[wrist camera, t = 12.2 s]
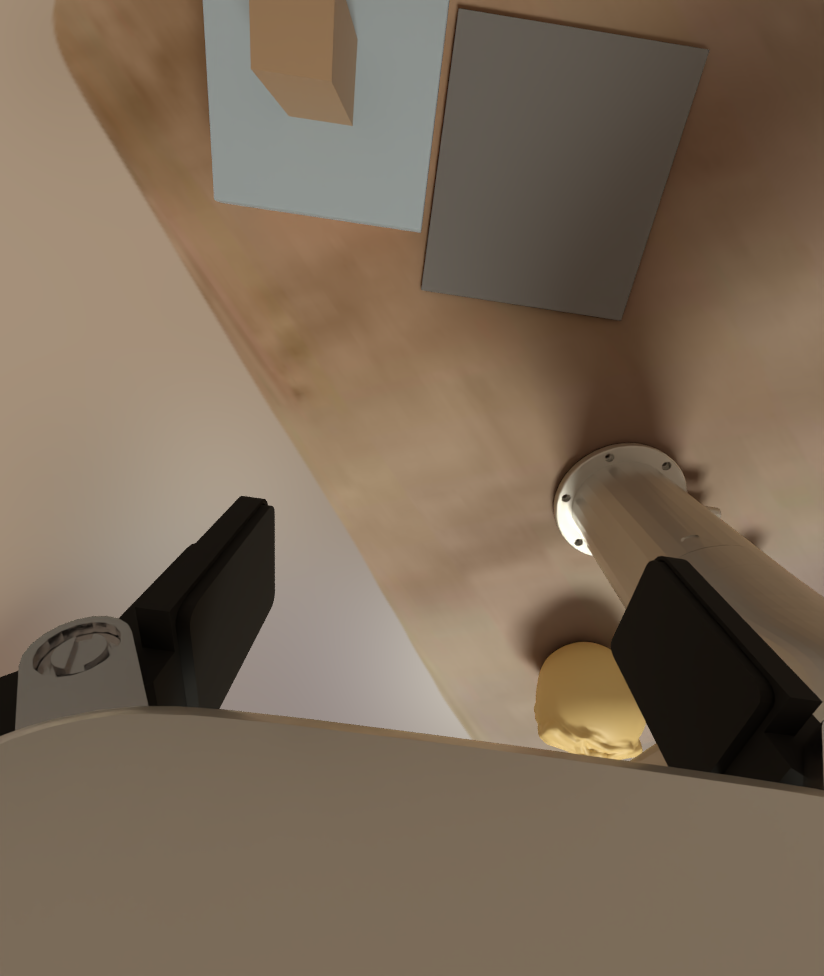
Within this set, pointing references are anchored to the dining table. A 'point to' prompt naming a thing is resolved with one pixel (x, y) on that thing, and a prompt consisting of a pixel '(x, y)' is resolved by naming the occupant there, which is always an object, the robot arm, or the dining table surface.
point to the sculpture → (587, 704)
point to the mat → (553, 161)
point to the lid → (324, 105)
